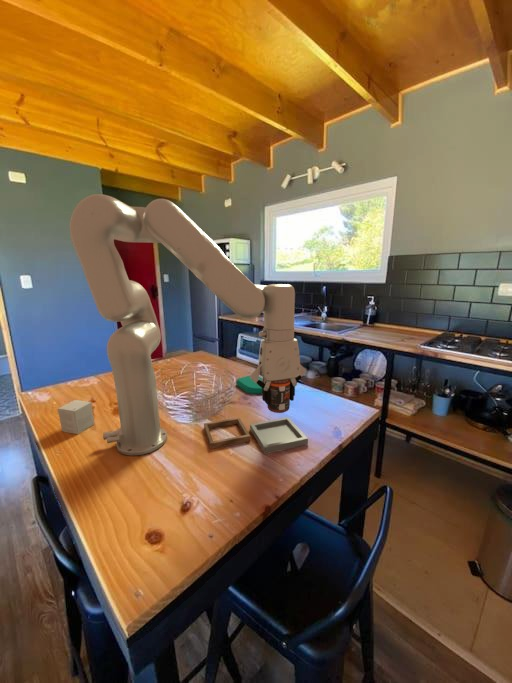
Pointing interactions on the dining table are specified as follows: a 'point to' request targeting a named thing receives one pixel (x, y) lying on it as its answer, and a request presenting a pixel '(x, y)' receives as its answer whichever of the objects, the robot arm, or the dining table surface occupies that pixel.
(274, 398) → the supplement bottle
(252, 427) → the tray
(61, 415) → the product box
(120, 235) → the robot arm
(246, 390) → the spray bottle
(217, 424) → the holder
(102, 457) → the dining table surface
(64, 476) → the dining table surface
